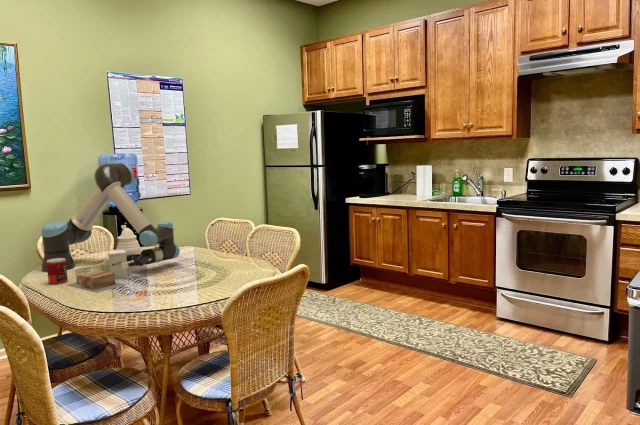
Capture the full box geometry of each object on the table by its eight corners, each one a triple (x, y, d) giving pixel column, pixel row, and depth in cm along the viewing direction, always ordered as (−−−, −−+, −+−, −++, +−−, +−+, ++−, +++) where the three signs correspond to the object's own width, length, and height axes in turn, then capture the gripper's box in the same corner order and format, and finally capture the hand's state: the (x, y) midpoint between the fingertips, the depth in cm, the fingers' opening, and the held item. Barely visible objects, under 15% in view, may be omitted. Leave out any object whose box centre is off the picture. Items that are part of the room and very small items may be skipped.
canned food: (59, 286, 218) (57, 261, 217) (44, 285, 220) (42, 261, 219) (71, 281, 226) (69, 258, 224) (56, 281, 227) (54, 257, 226)
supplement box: (111, 280, 225) (109, 253, 224) (109, 277, 232) (107, 251, 230) (128, 278, 229) (126, 251, 227) (126, 275, 235) (124, 249, 234)
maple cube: (76, 283, 220) (75, 274, 219) (85, 281, 223) (84, 272, 222) (81, 284, 217) (80, 275, 217) (90, 282, 221) (89, 273, 220)
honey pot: (111, 259, 272) (109, 227, 269) (125, 254, 284) (123, 223, 282) (132, 260, 269) (130, 227, 267) (145, 255, 281) (143, 224, 279)
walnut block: (81, 286, 214) (80, 275, 213) (102, 281, 222) (101, 270, 222) (94, 289, 208) (93, 278, 208) (115, 284, 217) (114, 273, 216)
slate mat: (65, 286, 218) (65, 285, 217) (95, 279, 229) (95, 277, 229) (96, 294, 204) (96, 292, 204) (126, 286, 216) (126, 284, 215)
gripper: (135, 246, 251) (96, 254, 234) (167, 250, 237) (128, 259, 220) (136, 260, 252) (97, 269, 235) (168, 266, 238) (129, 275, 221)
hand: (112, 264), depth 227 cm, fingers open, 13 cm apart
